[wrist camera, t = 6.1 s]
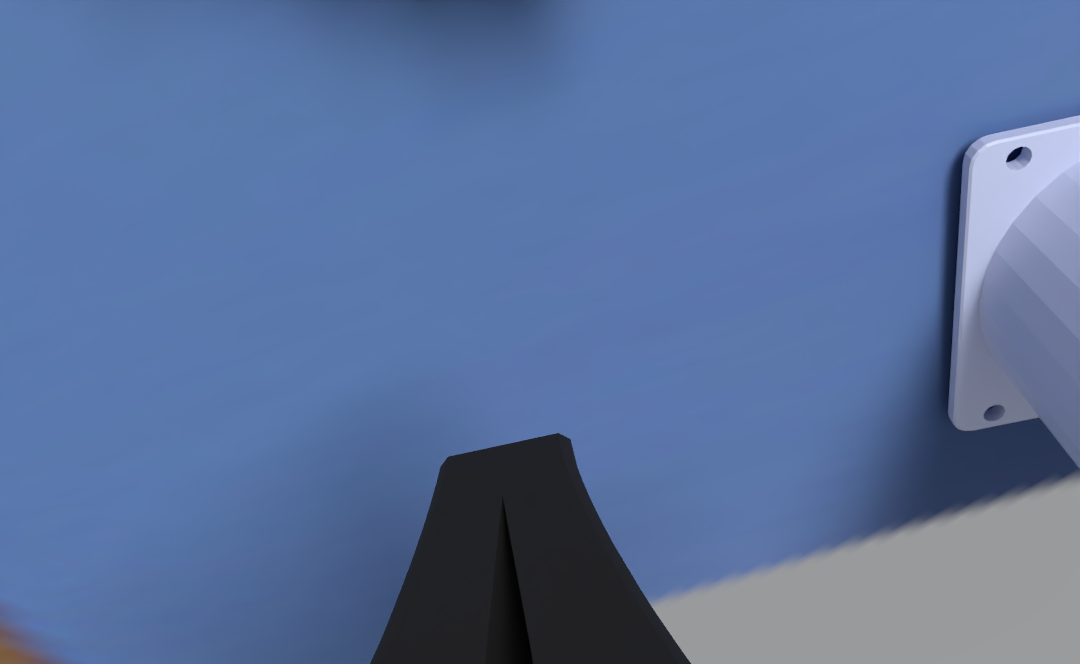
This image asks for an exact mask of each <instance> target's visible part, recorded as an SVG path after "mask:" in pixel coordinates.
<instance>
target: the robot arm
mask: <svg viewBox="0 0 1080 664" xmlns="http://www.w3.org/2000/svg"><path fill="white" fill-rule="evenodd" d="M1018 147H1023V149H1022V151H1021V154H1020V155H1019V156H1018V157H1017V158H1016V159H1015V160H1013V161H1010V162H1006V160H1007V157H1008V155H1009V154H1010V153H1011V152H1012V151H1013V150H1014V149H1016V148H1018ZM994 405H996V406H995V407H993V408H992V409H990V410H988V411H986V410H987V409H988V408H989V407H991V406H994ZM948 414H949V418H950V420H951V421H952V423H953V424H954V425H955V426H956V427H957V428H958V429H959V430H963V431H973V430H978V429H984V428H989V427H994V426H999V425H1004V424H1009V423H1014V422H1019V421H1024V420H1029V419H1034V418H1040V419H1041V420H1042V421H1043V423H1044V424H1045V425H1046V427H1047V428H1048V429H1049V430H1050V432H1051V433H1052V434H1053V435H1054V437H1055V438H1056V439H1057V441H1058V442H1059V443H1060V444H1061V446H1062V447H1063V448H1064V450H1065V451H1066V452H1067V453H1068V455H1069V456H1070V457H1071V458H1072V460H1073V461H1074V462H1075V464H1076V465H1077V466H1078V467H1079V469H1080V115H1079V116H1074V117H1069V118H1065V119H1060V120H1055V121H1051V122H1046V123H1041V124H1037V125H1032V126H1028V127H1023V128H1018V129H1014V130H1009V131H1004V132H1000V133H995V134H990V135H987V136H984V137H982V138H979V139H978V140H977V141H975V142H974V143H973V144H972V145H971V146H970V147H969V149H968V150H967V151H966V153H965V156H964V160H963V168H962V185H961V202H960V219H959V236H958V252H957V269H956V286H955V303H954V320H953V337H952V353H951V370H950V387H949V404H948ZM370 664H691V663H690V662H689V660H688V659H687V658H686V656H685V655H684V653H683V652H682V651H681V649H680V648H679V646H678V645H677V643H676V642H675V640H674V639H673V638H672V636H671V635H670V633H669V632H668V630H667V629H666V627H665V626H664V625H663V623H662V622H661V620H660V619H659V617H658V616H657V614H656V613H655V611H654V610H653V608H652V607H651V605H650V603H649V602H648V600H647V599H646V597H645V596H644V594H643V593H642V591H641V590H640V588H639V586H638V585H637V583H636V581H635V580H634V578H633V576H632V575H631V573H630V571H629V569H628V568H627V566H626V564H625V563H624V561H623V559H622V558H621V556H620V554H619V553H618V551H617V549H616V548H615V546H614V544H613V542H612V541H611V539H610V537H609V535H608V533H607V531H606V530H605V528H604V526H603V524H602V522H601V520H600V518H599V516H598V514H597V512H596V510H595V508H594V505H593V503H592V501H591V499H590V497H589V495H588V493H587V490H586V488H585V486H584V483H583V481H582V478H581V476H580V473H579V470H578V468H577V464H576V460H575V456H574V452H573V448H572V444H571V440H570V439H569V438H567V437H565V436H563V435H561V434H559V433H557V434H552V435H547V436H543V437H538V438H533V439H529V440H524V441H519V442H515V443H510V444H506V445H501V446H496V447H492V448H487V449H482V450H478V451H473V452H468V453H464V454H459V455H454V456H450V457H448V458H447V459H446V460H445V462H444V463H443V464H442V466H441V468H440V472H439V476H438V480H437V484H436V487H435V491H434V494H433V498H432V501H431V505H430V508H429V511H428V514H427V518H426V521H425V524H424V527H423V530H422V533H421V536H420V539H419V542H418V545H417V548H416V551H415V553H414V556H413V559H412V562H411V565H410V568H409V570H408V573H407V575H406V578H405V581H404V583H403V586H402V588H401V591H400V594H399V596H398V599H397V601H396V604H395V606H394V609H393V612H392V614H391V617H390V619H389V622H388V625H387V627H386V629H385V632H384V634H383V637H382V639H381V641H380V644H379V646H378V648H377V650H376V652H375V655H374V657H373V659H372V661H371V663H370Z"/></svg>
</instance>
